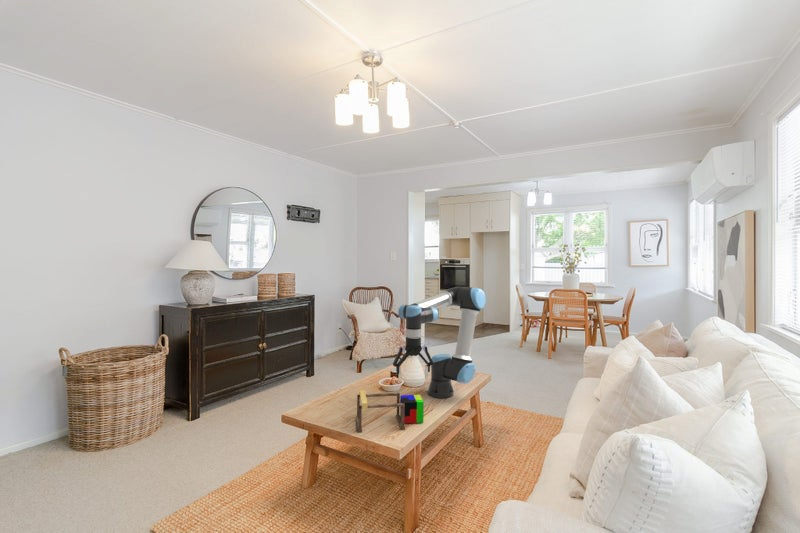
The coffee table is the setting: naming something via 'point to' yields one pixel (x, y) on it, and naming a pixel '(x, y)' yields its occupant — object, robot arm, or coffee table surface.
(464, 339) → the robot arm
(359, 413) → the rack
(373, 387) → the coffee table surface
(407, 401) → the puzzle toy
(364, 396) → the bar
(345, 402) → the coffee table surface
